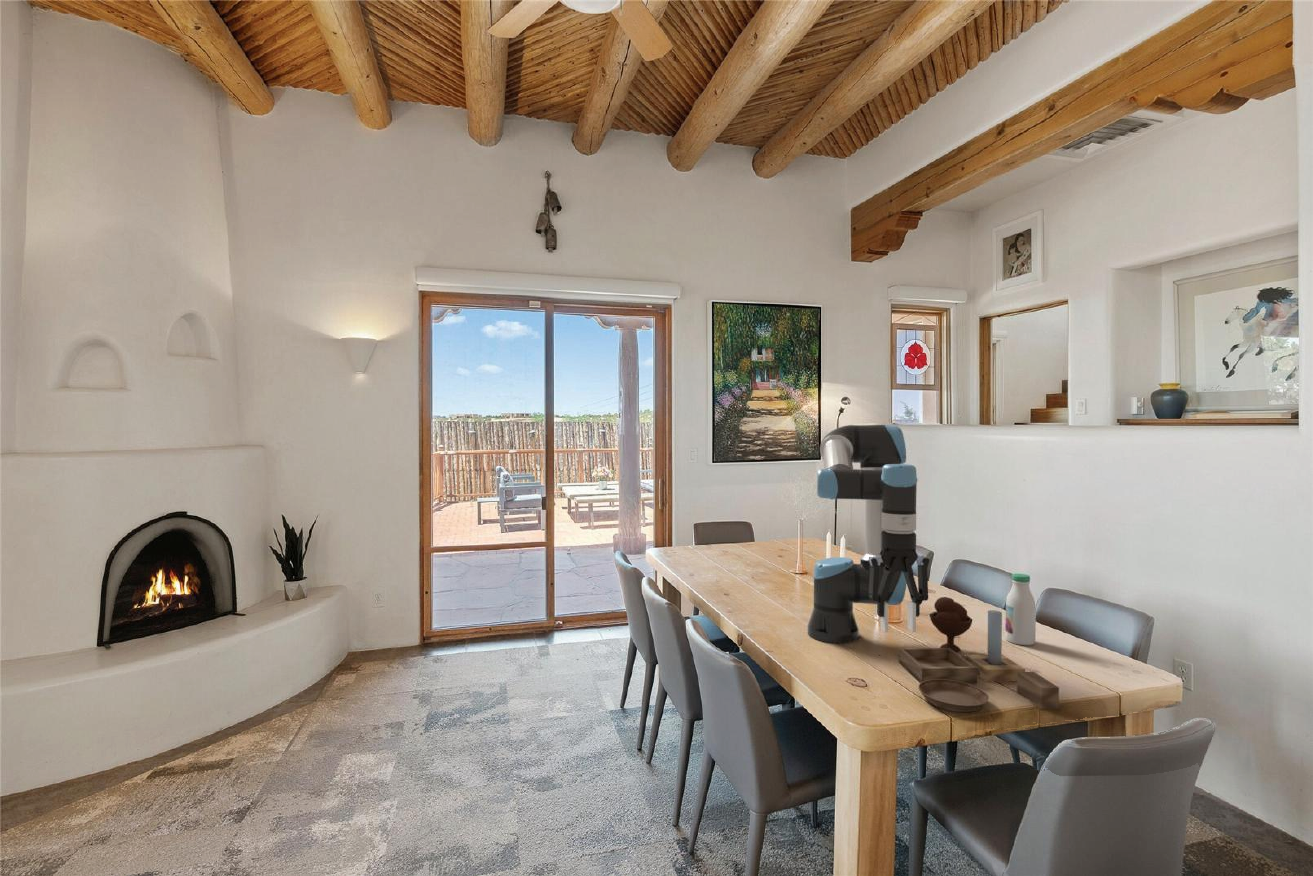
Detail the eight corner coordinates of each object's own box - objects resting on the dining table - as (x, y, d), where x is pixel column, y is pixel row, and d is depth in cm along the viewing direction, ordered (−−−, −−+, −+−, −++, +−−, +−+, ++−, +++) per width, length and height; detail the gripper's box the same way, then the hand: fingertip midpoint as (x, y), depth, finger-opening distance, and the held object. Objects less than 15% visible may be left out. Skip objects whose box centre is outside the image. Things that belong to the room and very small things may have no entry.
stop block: (1041, 709, 140) (1041, 687, 139) (1017, 692, 149) (1017, 671, 148) (1058, 709, 140) (1058, 687, 140) (1033, 692, 149) (1033, 671, 149)
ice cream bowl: (955, 659, 170) (956, 605, 169) (921, 646, 180) (921, 595, 179) (980, 652, 174) (980, 600, 174) (945, 640, 184) (946, 590, 184)
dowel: (991, 675, 158) (992, 614, 158) (984, 670, 162) (985, 610, 161) (1003, 675, 158) (1004, 613, 158) (996, 670, 162) (997, 610, 161)
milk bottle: (1038, 641, 184) (1038, 574, 183) (1032, 648, 178) (1032, 579, 178) (1009, 635, 189) (1009, 570, 189) (1002, 641, 183) (1002, 575, 183)
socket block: (985, 681, 155) (986, 669, 155) (965, 665, 165) (965, 654, 165) (1025, 681, 155) (1025, 669, 155) (1002, 665, 165) (1002, 654, 165)
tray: (921, 684, 153) (921, 668, 153) (898, 662, 167) (898, 648, 167) (977, 684, 153) (977, 668, 153) (949, 662, 167) (949, 647, 167)
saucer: (918, 685, 153) (918, 674, 153) (985, 695, 148) (985, 684, 148) (918, 710, 140) (918, 698, 140) (992, 722, 134) (992, 710, 134)
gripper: (864, 534, 139) (863, 636, 139) (946, 533, 139) (945, 635, 140) (853, 528, 146) (852, 625, 147) (931, 528, 147) (930, 624, 147)
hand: (898, 630), depth 143 cm, fingers open, 6 cm apart
